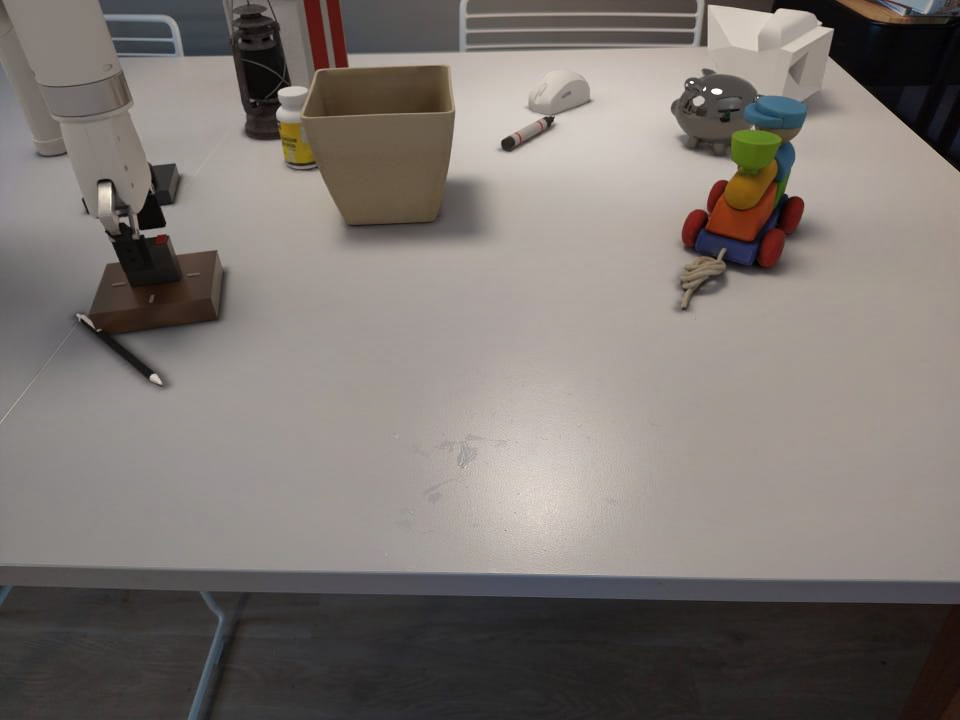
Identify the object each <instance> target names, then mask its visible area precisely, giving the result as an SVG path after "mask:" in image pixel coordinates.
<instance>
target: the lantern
mask: <svg viewBox="0 0 960 720" xmlns="http://www.w3.org/2000/svg"><path fill="white" fill-rule="evenodd" d="M267 1H268V3H269V6H270V8H271V11H272V13H273V16H274V18H275V21H273V19H272V18H270V17H267V16H263V15H261V12H264V11H266V10H267V8H266V7H265V6H262V5H257V4H249V0H247V5H242V6H239V7H237V8H235V9H233V0H231V27H232V34H231V36H230V35H229V37H226V42H227V45H228V49H229V50H231V54H232V58H233V63H234V69H235V73H236V79H237V84H238V90H239V95H240V101H241V105H242V108H243V111H244V112H245V114H246V115H245V119H246V121H245V123H244V133H245V135H246V136H247V137H249V138H251V139H254V140H255V139H256V140H279V139H280V140H281V137H280V132H279V127H278V123H277V118H276V112H277V110H278V109H279V107H280V106H282V104H281V103H280V102H279V98H278V91H279V90H280V89H283V88H286V87H292V86H291V80H290V76H289V72H288V68H287V63H286V59H285V55H284V50H283V46H282V42H281V38H280V33H279V31H281V29H280V25H279V23H278V22H277V19H276V17H275V14H274V12H273V9H272V7H271V4H270V2H269V0H267ZM233 13H234V14H240V18H238V19H236V20H234V21H233ZM233 26H234V27H238V30H236V31H235V32H234V31H233ZM268 26H270V27H268ZM270 35H272V36H273V40H272V39H271V36H270ZM239 38H240V39H241V42H240V43H239V42H238V40H239ZM250 99H252V100H255V101H253V102H250Z"/></svg>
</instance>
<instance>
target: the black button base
mask: <svg viewBox="0 0 960 720" xmlns="http://www.w3.org/2000/svg"><path fill="white" fill-rule="evenodd" d="M147 162H148V165H149V169H150V172H151V183H152V184H153V186H154V191H155V193H154V194H151V195H155V194H156V195H157V198H158V201H159V204H160V206H161V205H162V206H163V205H169V204H170V205H171V204H174V200H175V195H176V192H177V188H178V184H179V181H180V173H179V169H178V167H177V164H176V163H174V162H173V163H164V164H155V165H154V164H153V165H152V163H150V162H149V161H147ZM81 203H82V204H83V207H84V209H85V211H86V213H87V214H90V213H89V210H88V208H87V205H86V203H85V200H84V198H83V197H82V198H81ZM125 208H128V205H124V206H116V210H117V209H125Z"/></svg>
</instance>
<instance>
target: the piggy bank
mask: <svg viewBox="0 0 960 720" xmlns="http://www.w3.org/2000/svg"><path fill="white" fill-rule="evenodd" d="M701 74H702V76H701V77H696V76H695V77H688V78H687V79H686V80H685V81H684V85H683V86H684V91H683V92H682V93H681V95H680V97H679V98H676V99H674V100H673V101H672V103H671V106H670V113H671V114H672V115H673V116H674V118H675V121H676V122H677V124H678V126H679V127H680V128H681V130H682V131H683V132H684V133H685V134H686V135H687V136H688V138H687V142H686V146H687V148H689V149H693V150H694V149H697V148H698V147H700V145H701V144H702V143H704V144H708V145H711V150H712V153H713V154H714V155H716V156H722V155H724V154H725V152H726V149H727V147H728V146H731V142H732V134H733V133H734V132H736V131H741V130H752V129H753V127H754V125H752V124H750V123H748V122H746V121H745V119H744V117H743V114H744V110H745V108H746V106H747V105H749V104H752V103H755V102H757V100H758V99H759V98H760V97H763V96H765V95H761V94H758V92H757V90H756V88H755V87H754V86H753V85H752V84H751V83H750V82H749V81H747V80H745V79H743V78H741V77H738V76H735V75H730V74H718V73H717V71H716V70H714V69H711V68H706V67H704V68H702V69H701Z"/></svg>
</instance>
